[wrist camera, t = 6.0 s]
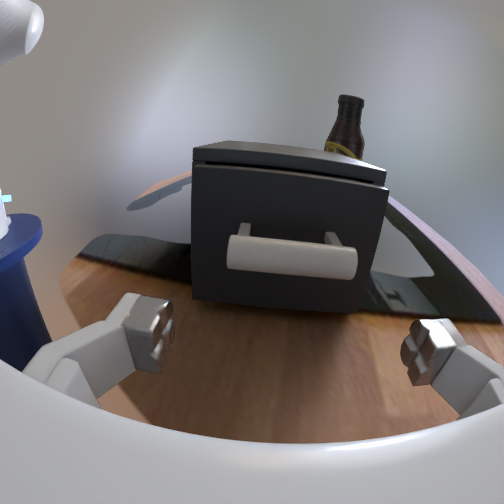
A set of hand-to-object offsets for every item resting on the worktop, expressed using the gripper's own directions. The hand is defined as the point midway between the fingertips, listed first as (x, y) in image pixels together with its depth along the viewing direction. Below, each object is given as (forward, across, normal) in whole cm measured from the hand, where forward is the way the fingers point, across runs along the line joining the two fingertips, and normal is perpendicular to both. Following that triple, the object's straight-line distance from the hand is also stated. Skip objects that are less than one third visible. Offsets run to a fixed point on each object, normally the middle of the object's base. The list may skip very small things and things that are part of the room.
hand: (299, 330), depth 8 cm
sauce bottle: (+36, -10, +7) cm, 38 cm away
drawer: (+13, 0, +5) cm, 14 cm away
